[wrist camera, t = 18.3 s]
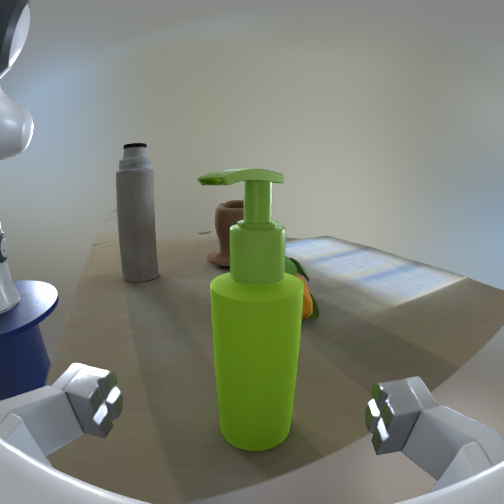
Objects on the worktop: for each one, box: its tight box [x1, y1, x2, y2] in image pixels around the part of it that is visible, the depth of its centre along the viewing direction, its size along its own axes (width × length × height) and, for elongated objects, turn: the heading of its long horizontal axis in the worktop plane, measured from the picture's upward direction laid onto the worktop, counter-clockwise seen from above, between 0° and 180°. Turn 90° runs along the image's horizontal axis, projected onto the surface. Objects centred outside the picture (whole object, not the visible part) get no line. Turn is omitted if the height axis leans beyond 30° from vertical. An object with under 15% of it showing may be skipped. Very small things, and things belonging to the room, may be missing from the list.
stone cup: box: [206, 200, 244, 266], centre depth 70 cm, size 15×12×15 cm
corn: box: [285, 256, 319, 320], centre depth 45 cm, size 7×8×20 cm
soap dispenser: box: [197, 169, 304, 451], centre depth 19 cm, size 6×7×20 cm
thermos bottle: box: [116, 143, 158, 282], centre depth 57 cm, size 8×8×28 cm
